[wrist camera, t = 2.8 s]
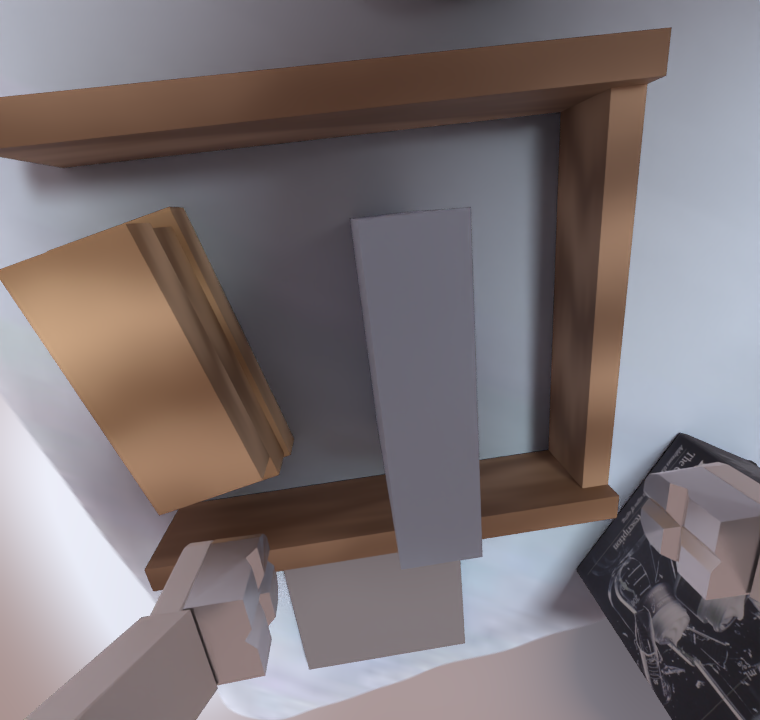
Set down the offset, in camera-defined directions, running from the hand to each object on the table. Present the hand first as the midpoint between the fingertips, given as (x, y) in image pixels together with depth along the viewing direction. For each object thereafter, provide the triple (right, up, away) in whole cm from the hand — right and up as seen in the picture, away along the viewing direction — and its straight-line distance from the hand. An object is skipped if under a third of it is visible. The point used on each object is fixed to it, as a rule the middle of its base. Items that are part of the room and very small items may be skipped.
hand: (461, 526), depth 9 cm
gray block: (-1, +5, +14) cm, 15 cm away
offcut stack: (-12, +4, +14) cm, 19 cm away
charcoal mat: (-2, -13, +21) cm, 25 cm away
